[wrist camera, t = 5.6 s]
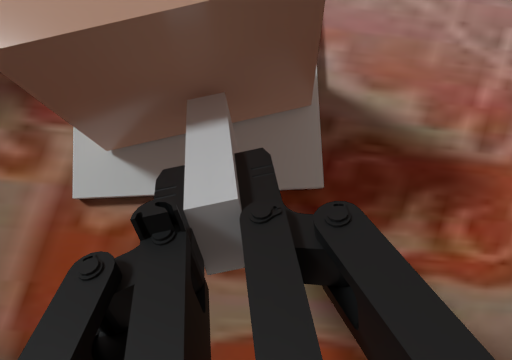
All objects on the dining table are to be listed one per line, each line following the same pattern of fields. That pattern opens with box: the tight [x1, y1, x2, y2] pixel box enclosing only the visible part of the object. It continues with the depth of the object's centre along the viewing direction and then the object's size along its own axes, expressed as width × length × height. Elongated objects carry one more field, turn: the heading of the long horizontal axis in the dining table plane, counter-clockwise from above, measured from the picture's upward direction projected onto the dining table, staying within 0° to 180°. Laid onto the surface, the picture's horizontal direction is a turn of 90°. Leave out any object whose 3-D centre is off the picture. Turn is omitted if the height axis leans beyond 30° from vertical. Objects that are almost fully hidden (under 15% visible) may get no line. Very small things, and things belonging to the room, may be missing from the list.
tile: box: [0, 0, 325, 151], centre depth 17 cm, size 2×10×9 cm, turn 102°
